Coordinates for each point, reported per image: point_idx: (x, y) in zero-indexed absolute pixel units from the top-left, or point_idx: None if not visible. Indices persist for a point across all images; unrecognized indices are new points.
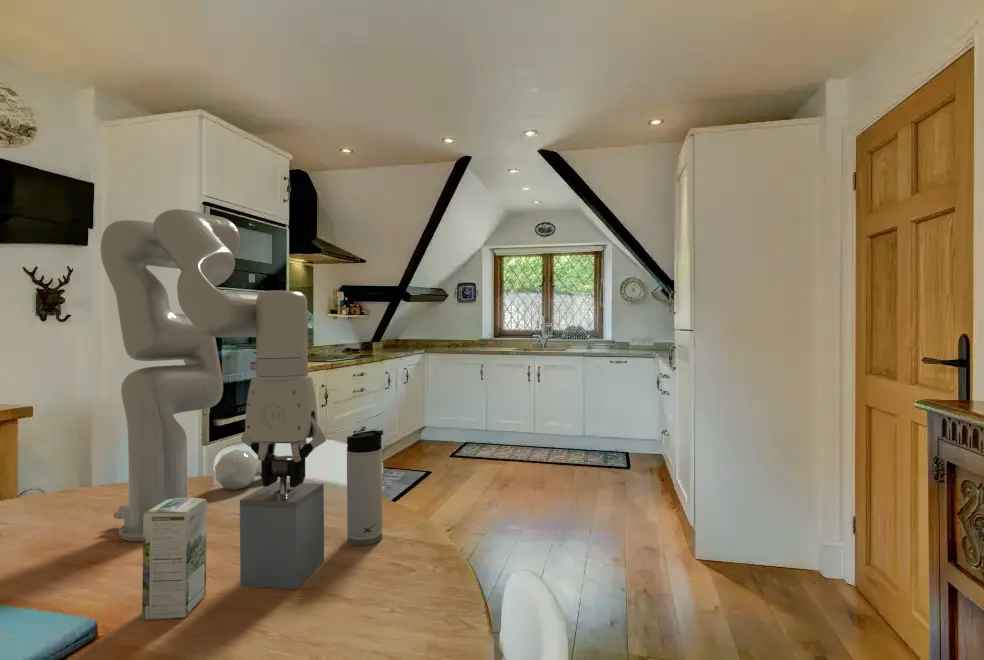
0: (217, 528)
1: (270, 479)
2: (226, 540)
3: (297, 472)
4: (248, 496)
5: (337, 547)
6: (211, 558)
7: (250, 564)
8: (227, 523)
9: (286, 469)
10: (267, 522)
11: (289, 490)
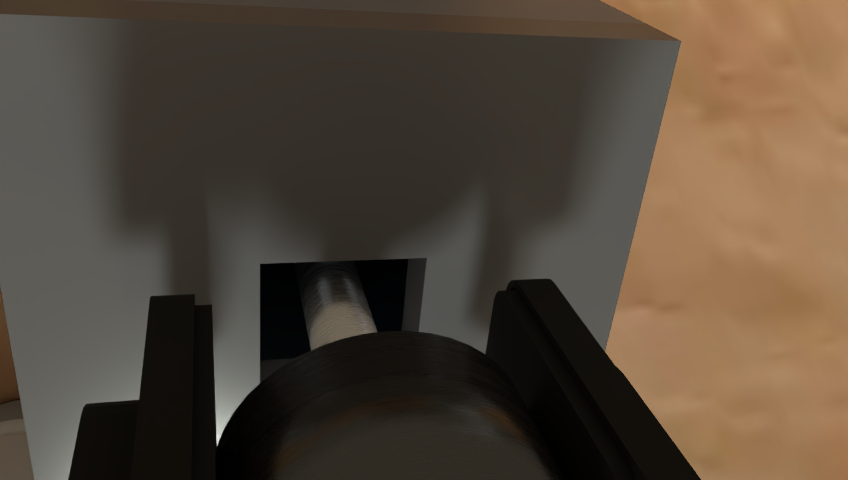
0: (782, 425)
1: (507, 370)
2: (706, 341)
3: (120, 466)
4: (630, 148)
5: None
6: (703, 182)
7: None
8: (760, 469)
9: (274, 448)
10: None
11: None
